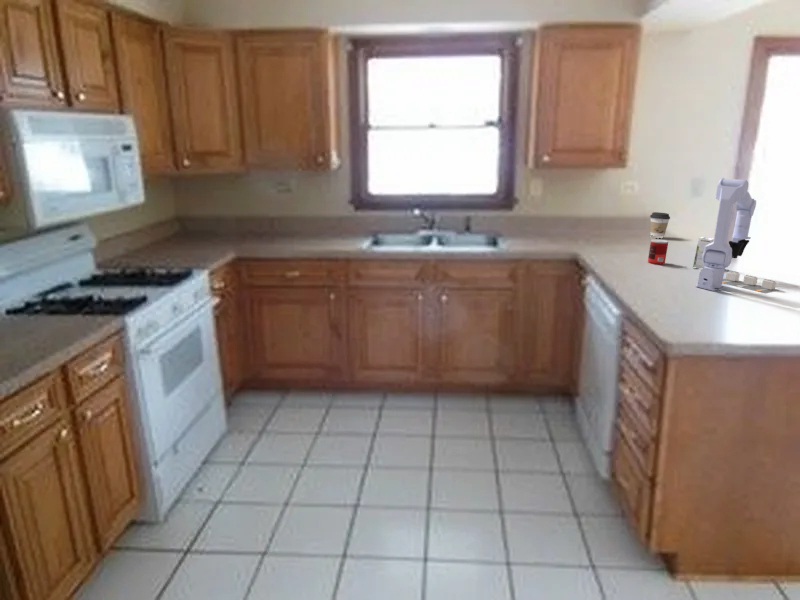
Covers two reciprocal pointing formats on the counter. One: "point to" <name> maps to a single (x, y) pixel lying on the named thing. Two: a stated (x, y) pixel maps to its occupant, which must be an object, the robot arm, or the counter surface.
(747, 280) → the middle slider
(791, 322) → the counter surface
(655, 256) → the canned food
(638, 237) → the counter surface
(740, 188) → the robot arm
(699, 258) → the syrup box
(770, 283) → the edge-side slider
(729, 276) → the block
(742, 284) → the switch panel
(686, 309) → the counter surface
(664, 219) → the coffee cup
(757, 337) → the counter surface
